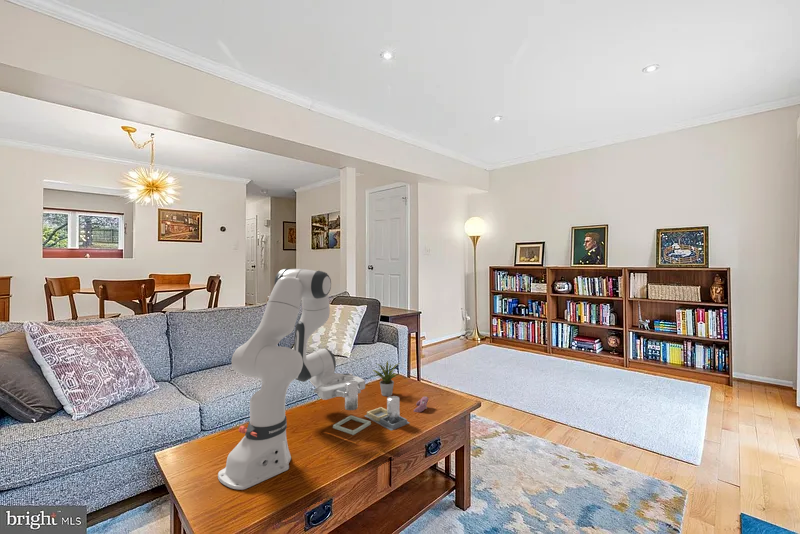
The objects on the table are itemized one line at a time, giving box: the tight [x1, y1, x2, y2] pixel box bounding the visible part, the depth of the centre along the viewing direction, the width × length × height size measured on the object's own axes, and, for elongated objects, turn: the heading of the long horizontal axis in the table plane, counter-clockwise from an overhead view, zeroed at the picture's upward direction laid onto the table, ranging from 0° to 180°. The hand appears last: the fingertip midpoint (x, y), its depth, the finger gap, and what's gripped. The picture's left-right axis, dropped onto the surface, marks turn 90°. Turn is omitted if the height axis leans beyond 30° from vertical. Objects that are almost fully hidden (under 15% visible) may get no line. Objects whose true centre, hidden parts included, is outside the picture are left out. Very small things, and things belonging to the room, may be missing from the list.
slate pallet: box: [364, 406, 411, 432], centre depth 151 cm, size 18×10×3 cm, turn 41°
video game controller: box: [413, 395, 430, 413], centre depth 162 cm, size 10×5×7 cm, turn 169°
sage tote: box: [332, 415, 372, 436], centre depth 145 cm, size 11×11×2 cm
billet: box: [386, 395, 401, 424], centre depth 147 cm, size 5×5×10 cm
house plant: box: [372, 360, 401, 397], centre depth 183 cm, size 14×14×16 cm
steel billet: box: [344, 381, 359, 411], centre depth 144 cm, size 5×5×10 cm
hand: (352, 393), depth 144 cm, fingers closed on steel billet, 5 cm apart
